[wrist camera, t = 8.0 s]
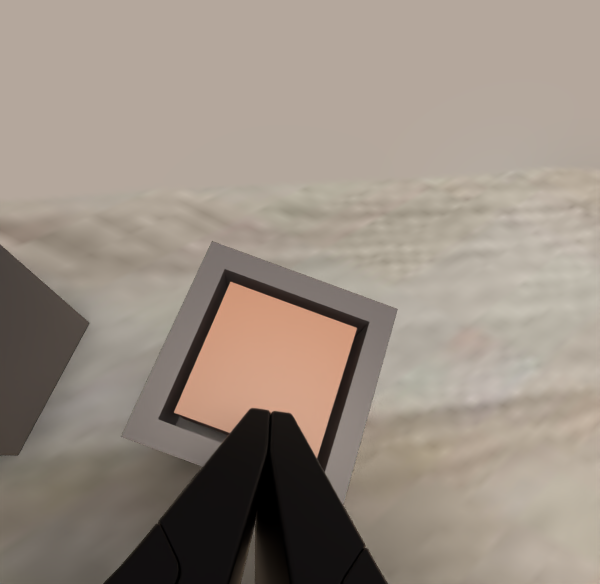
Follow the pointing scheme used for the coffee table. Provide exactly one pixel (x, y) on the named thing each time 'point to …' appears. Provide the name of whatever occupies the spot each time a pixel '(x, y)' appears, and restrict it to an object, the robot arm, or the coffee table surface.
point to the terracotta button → (267, 364)
